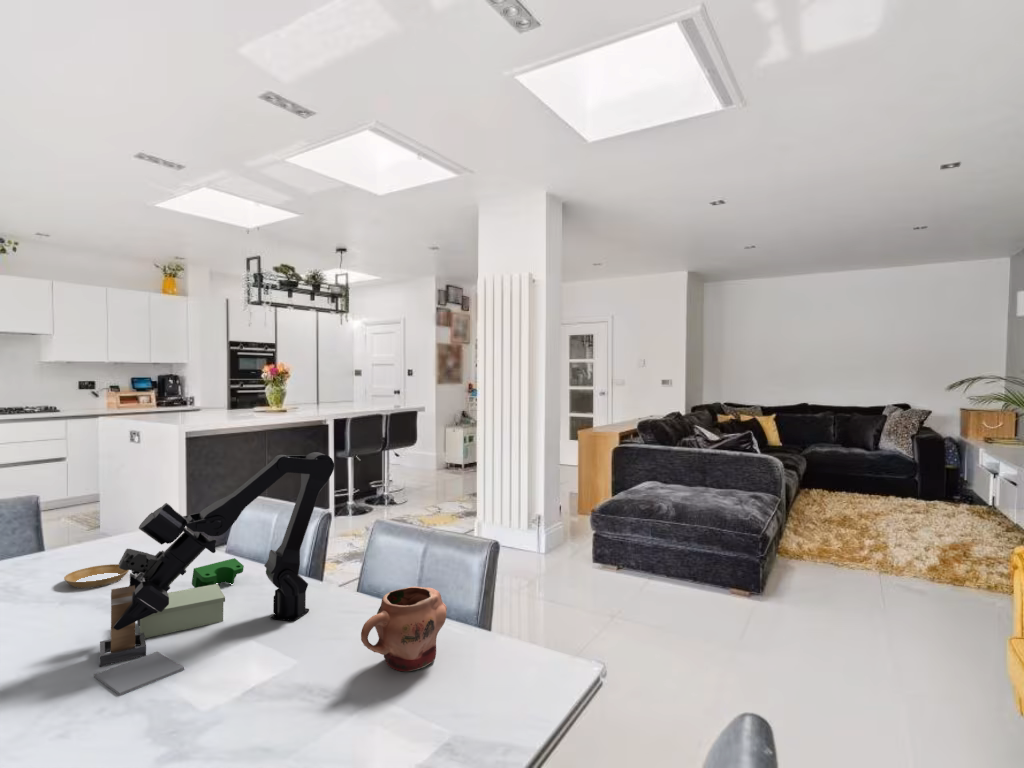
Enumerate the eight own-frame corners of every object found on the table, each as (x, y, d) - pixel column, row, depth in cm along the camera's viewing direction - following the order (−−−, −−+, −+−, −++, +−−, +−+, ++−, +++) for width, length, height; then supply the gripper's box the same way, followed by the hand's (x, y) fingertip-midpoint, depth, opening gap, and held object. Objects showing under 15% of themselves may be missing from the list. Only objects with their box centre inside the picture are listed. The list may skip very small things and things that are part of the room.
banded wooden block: (134, 647, 118) (135, 585, 117) (135, 654, 114) (136, 591, 114) (110, 652, 115) (111, 589, 115) (110, 660, 112) (111, 595, 112)
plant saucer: (72, 577, 159) (72, 567, 159) (134, 570, 165) (134, 561, 165) (56, 595, 146) (56, 585, 146) (124, 587, 152) (124, 577, 152)
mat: (157, 653, 115) (157, 651, 115) (184, 669, 109) (184, 667, 109) (94, 677, 106) (94, 674, 106) (119, 695, 99) (119, 692, 99)
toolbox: (217, 606, 139) (217, 583, 139) (224, 621, 131) (225, 597, 130) (136, 622, 129) (136, 598, 129) (138, 640, 121) (139, 614, 121)
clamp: (207, 607, 149) (197, 582, 145) (197, 597, 152) (187, 572, 148) (249, 579, 157) (241, 555, 153) (239, 570, 161) (230, 546, 157)
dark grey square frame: (143, 641, 120) (143, 632, 120) (146, 655, 114) (146, 646, 114) (99, 651, 115) (99, 641, 115) (99, 666, 109) (99, 656, 109)
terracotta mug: (386, 697, 100) (387, 619, 100) (343, 675, 107) (344, 602, 107) (461, 654, 116) (461, 587, 116) (419, 637, 123) (420, 574, 123)
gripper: (144, 525, 124) (81, 584, 118) (149, 545, 109) (77, 615, 103) (184, 554, 129) (126, 613, 123) (195, 577, 114) (129, 646, 108)
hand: (114, 620), depth 114 cm, fingers open, 9 cm apart
